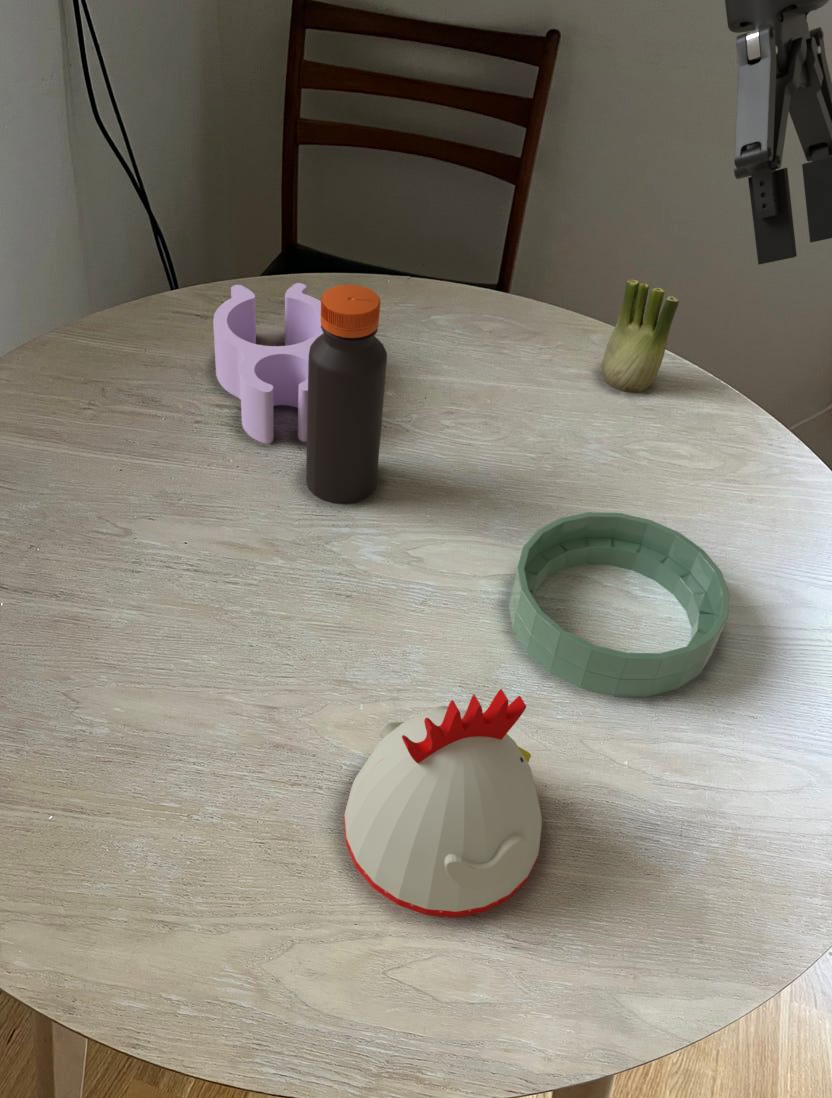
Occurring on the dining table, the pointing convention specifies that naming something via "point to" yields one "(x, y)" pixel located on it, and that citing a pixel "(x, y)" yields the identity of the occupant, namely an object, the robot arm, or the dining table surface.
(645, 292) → the fennel bulb
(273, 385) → the clip
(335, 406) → the bottle
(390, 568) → the dining table surface
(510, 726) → the kitchen timer
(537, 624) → the green faceted ring
